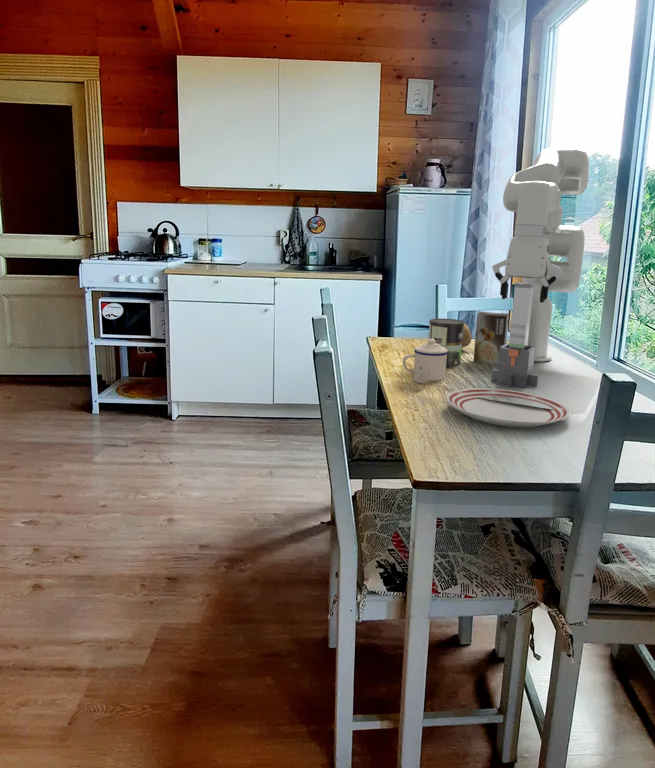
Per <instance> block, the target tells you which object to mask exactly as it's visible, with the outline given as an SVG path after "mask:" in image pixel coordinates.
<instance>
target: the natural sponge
mask: <svg viewBox="0 0 655 768" xmlns="http://www.w3.org/2000/svg"><path fill="white" fill-rule="evenodd" d="M471 341H472V334H471V330H470V327H468V325H467V324H466V323H465V322H464V328H463V341H462V349H464V348H465V347H467V346H469V345H470V344H471Z"/></svg>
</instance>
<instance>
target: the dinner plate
mask: <svg viewBox="0 0 655 768" xmlns="http://www.w3.org/2000/svg"><path fill="white" fill-rule="evenodd" d="M482 397H504V398H506V397H507V398H515V399H523V400H526V401H527V400H528V401H531V402H536V403H540V404H542V405H545V406H547V407H549V408H546V407H539V406H533V405H527V404H520V403H513V402H508V401H501V400H494V399H489V398H482ZM445 399H446V402H447V403H448V404H449V405H450V406H451V407H452V408H454V409H455V410H457V411H458V412H460V413H462V414H463V415H466V416H468V417H470V418H472V419H474V420H477V421H480V422H483V423H486V424H489V425H494V426H500V427H509V428H510V427H511V428H533V427H532V426H534V427H538V425H539V426H544V425H549V424H553V423H556V422H561V421H562V420H566V419H567V418H568V417H569V416H570V410H569V409H568V407H566V406H565V405H564V404H562V403H559V402H558V401H555V400H554V399H551V398H547V397H544V396H541V395H537V394H532V393H528V392H523V391H517V390H511V389H510V390H509V389H505V388H504V389H503V388H490V387H489V388H485V387H483V388H479V387H477V388H475V387H474V388H464V389H458V390H455V391H452V392H450V393H448V394H447V395H446V398H445Z"/></svg>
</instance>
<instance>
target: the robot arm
mask: <svg viewBox="0 0 655 768" xmlns="http://www.w3.org/2000/svg"><path fill="white" fill-rule="evenodd" d="M589 164H590V161H589V157H588V154H587V152H586V151H585V150H584V149H583V148H581V147H551V148H550V147H549V148H545V149H543V150H541V151H540V152H539V153H538V154H537V155H536V157H535V159H534V161H533V163H532V166H530V167H528V168H525V169H521V170H520V171H517V172H515V173H514V174H512V175H511V176H510V177H509V179H508V181H507V182H506V185H505V188H504V190H503V191H504V192H503V196H502V202H503V207H504V208H505V209H506V210H507V211H508V212H511V213H512V212H515V213H516V219H515V227H514V228H515V229H514V237H511V239H510V242H509V247H508V250H507V255H506V259H505V260H502V261H500V262H497V263H496V264H493V265H492V270H493V273H494V276H495V277H496V279H497V280H498V281H499V283H500V292H499V296H501V300H505V299H507V298H508V295H509V294H508V292H509V283H508V281H509V280H510V279H511V278H520V279H521V282H523V283H534V291H533V299H532V308H531V317H530V326H529V335H528V344H527V346H535V355H534V363H536V362H537V363H538V362H540V363H542V362H549V361H552V355H551V354H549V353H548V346H549V340H550V339H549V338H550V331H551V321H552V313H553V303H552V301H551V299H550V297H549V295H548V294H549V292H557V293H573V292H576V291H577V289H578V288H579V285H580V281H581V274H582V267H583V266H582V265H583V259H584V249H585V241H586V240H585V239H586V238H585V233H584V230H583V229H582V228H581V227H579V226H576V225H575V226H574V225H562V219H563V206H562V204H561V201H562V195H563V196H564V195H565V196H577V195H581V194H583V193H584V192H585V190H587V188H588V184H589V176H590V175H589V173H590V172H589V168H590V166H589ZM550 257H559V258H565V259H566V260H567V261H565V260H564V261H563V260H562V261H561V260H555V261H554V260H550ZM504 266H505V269H504V273H505V274H504V275H503V274H502V273H501V270H500V269H501V268H502V267H504Z"/></svg>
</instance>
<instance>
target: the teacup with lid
mask: <svg viewBox="0 0 655 768" xmlns="http://www.w3.org/2000/svg"><path fill="white" fill-rule="evenodd" d="M413 352H414V354H411V353H410V354H406V355H405V356H404V357H403V359H402V366H403V368H404V370H406V372H409V373H413V377H412V378H413V379H412V380H413V381H414V382H415V381H416V382H415V383H417V382H418V383H417V384H420V383H422V385H425V384H426V383H428V382H430V381H442V380H445V378H446V371H447V370H446V359H447V354H448V351H447V349H446V348H444V347H441V346H440V345H439V344H436V343H435V340H434V339H429V338H428V340H427V342H425V343H422V344H421V345H418V346H416V347H414V349H413ZM409 358H414V363H413V369H411V368H408V366H407V365H406V360H407V359H409Z"/></svg>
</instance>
